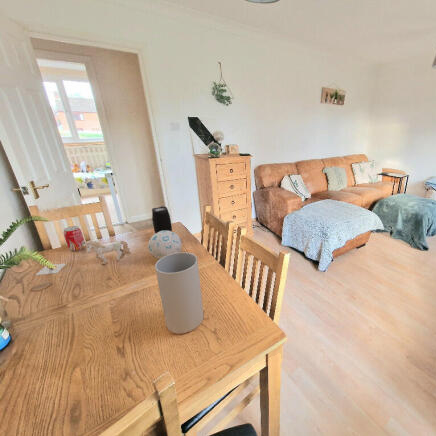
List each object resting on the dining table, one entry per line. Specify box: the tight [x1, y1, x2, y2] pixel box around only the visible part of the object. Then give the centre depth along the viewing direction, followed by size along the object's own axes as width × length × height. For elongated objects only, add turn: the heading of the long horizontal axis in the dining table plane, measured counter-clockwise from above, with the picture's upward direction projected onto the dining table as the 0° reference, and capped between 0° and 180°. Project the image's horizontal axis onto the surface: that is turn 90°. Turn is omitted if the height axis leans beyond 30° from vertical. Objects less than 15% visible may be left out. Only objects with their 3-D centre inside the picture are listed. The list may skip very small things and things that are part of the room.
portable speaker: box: [151, 206, 173, 234], centre depth 139 cm, size 9×9×20 cm
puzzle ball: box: [147, 230, 183, 260], centre depth 121 cm, size 15×15×15 cm
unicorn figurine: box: [79, 239, 132, 265], centre depth 115 cm, size 7×20×13 cm, turn 142°
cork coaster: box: [30, 280, 52, 292], centre depth 99 cm, size 6×6×1 cm
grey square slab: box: [35, 262, 68, 276], centre depth 110 cm, size 8×8×2 cm
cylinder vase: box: [154, 251, 205, 335], centre depth 82 cm, size 12×12×25 cm
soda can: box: [62, 225, 86, 252], centre depth 125 cm, size 7×7×12 cm
